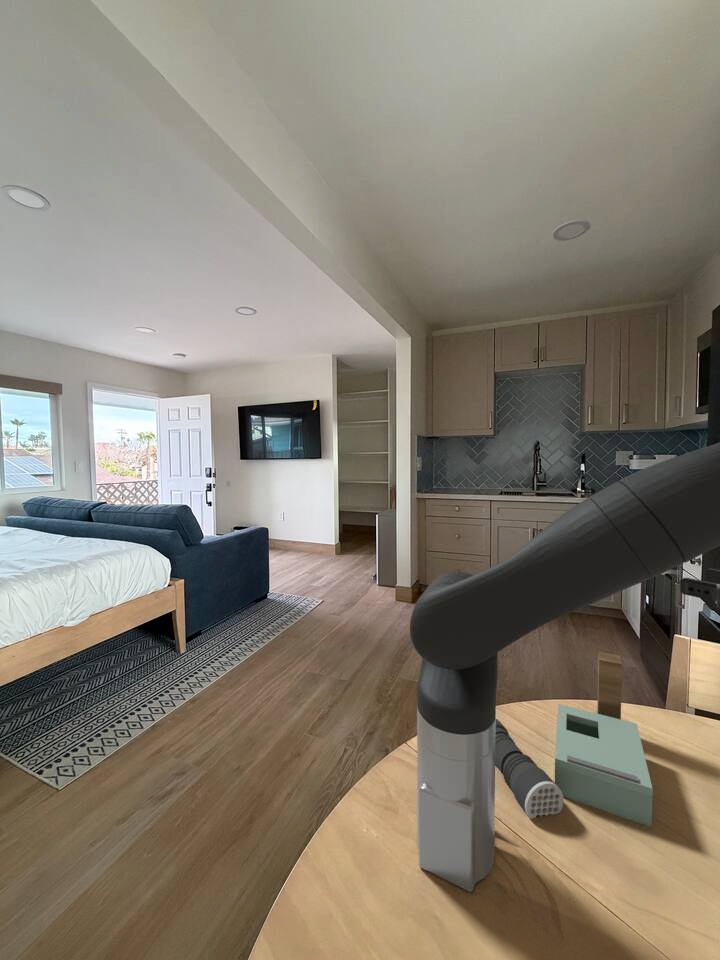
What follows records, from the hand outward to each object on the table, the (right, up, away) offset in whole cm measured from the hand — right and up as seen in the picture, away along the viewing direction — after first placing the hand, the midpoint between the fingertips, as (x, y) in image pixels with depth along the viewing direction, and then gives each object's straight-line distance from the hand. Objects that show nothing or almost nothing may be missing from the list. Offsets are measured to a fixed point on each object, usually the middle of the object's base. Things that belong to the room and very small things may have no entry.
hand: (694, 580), depth 57 cm
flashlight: (-25, -31, +2) cm, 40 cm away
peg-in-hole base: (-13, -30, +2) cm, 33 cm away
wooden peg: (-6, -30, +11) cm, 32 cm away
